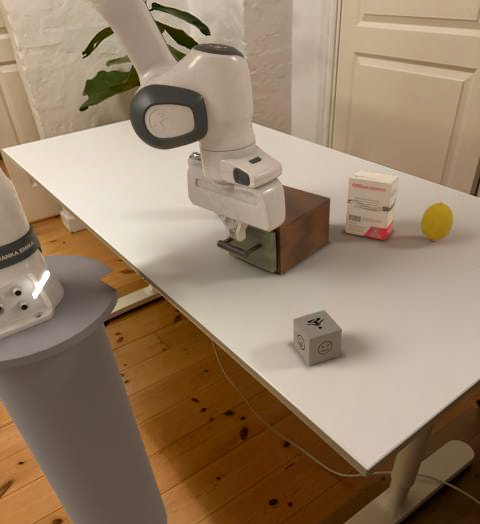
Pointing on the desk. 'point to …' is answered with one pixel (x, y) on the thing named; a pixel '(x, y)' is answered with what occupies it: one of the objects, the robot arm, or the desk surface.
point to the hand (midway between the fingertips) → (236, 238)
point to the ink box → (371, 204)
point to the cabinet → (301, 227)
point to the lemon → (437, 221)
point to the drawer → (254, 248)
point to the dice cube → (317, 337)
